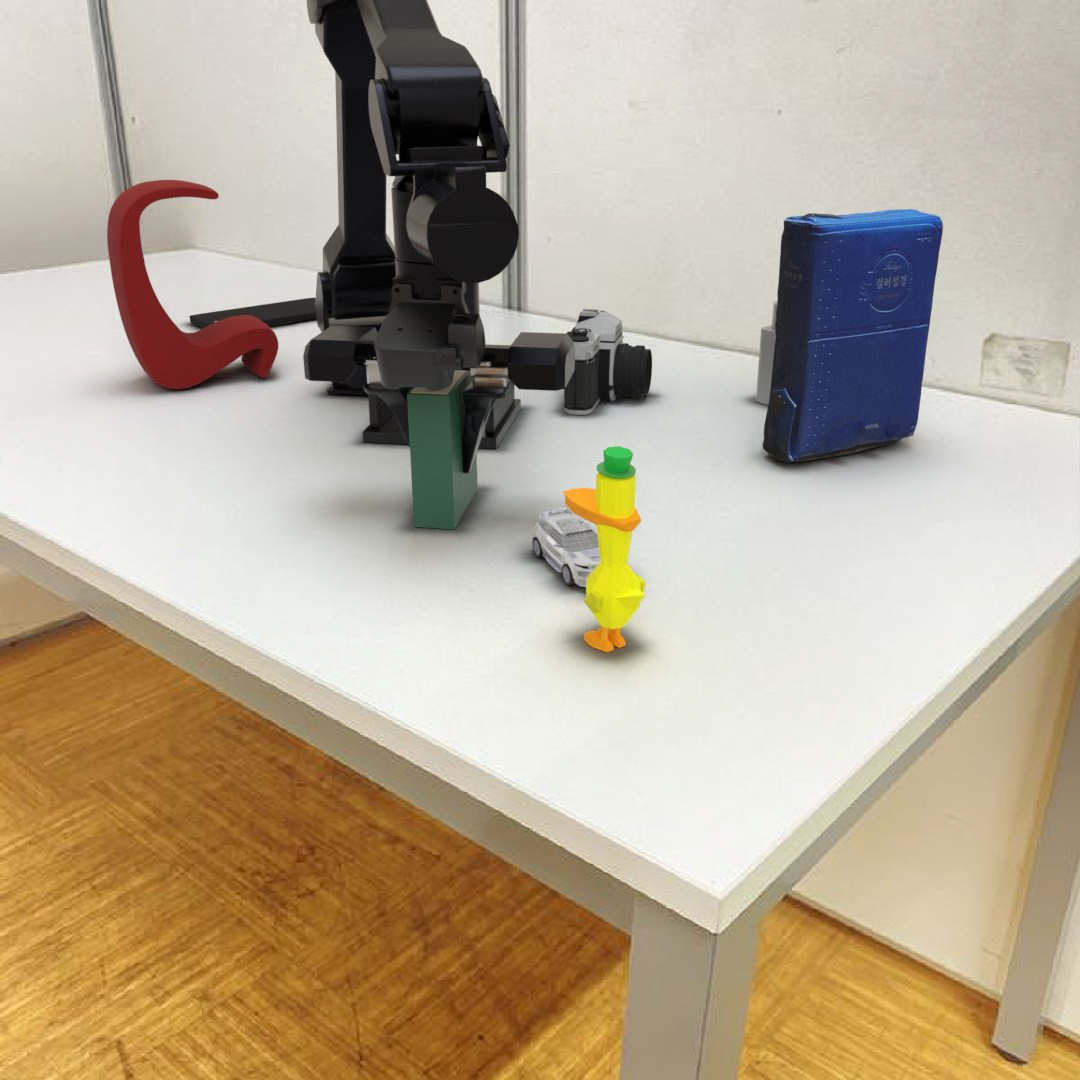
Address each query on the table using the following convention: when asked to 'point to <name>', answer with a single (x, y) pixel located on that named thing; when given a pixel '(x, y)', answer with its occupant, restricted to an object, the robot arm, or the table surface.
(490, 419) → the book rack
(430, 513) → the small book
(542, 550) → the toy car
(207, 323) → the cell phone
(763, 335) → the power adapter
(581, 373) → the camera
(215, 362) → the chair
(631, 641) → the table surface
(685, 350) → the table surface
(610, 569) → the toy figure
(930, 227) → the book
